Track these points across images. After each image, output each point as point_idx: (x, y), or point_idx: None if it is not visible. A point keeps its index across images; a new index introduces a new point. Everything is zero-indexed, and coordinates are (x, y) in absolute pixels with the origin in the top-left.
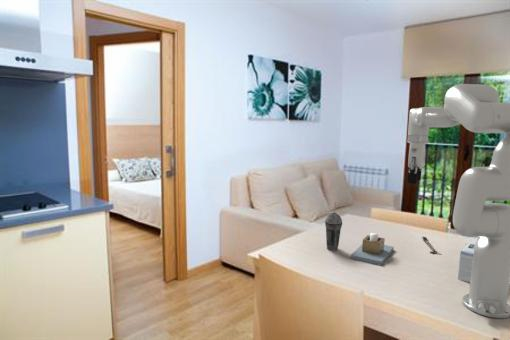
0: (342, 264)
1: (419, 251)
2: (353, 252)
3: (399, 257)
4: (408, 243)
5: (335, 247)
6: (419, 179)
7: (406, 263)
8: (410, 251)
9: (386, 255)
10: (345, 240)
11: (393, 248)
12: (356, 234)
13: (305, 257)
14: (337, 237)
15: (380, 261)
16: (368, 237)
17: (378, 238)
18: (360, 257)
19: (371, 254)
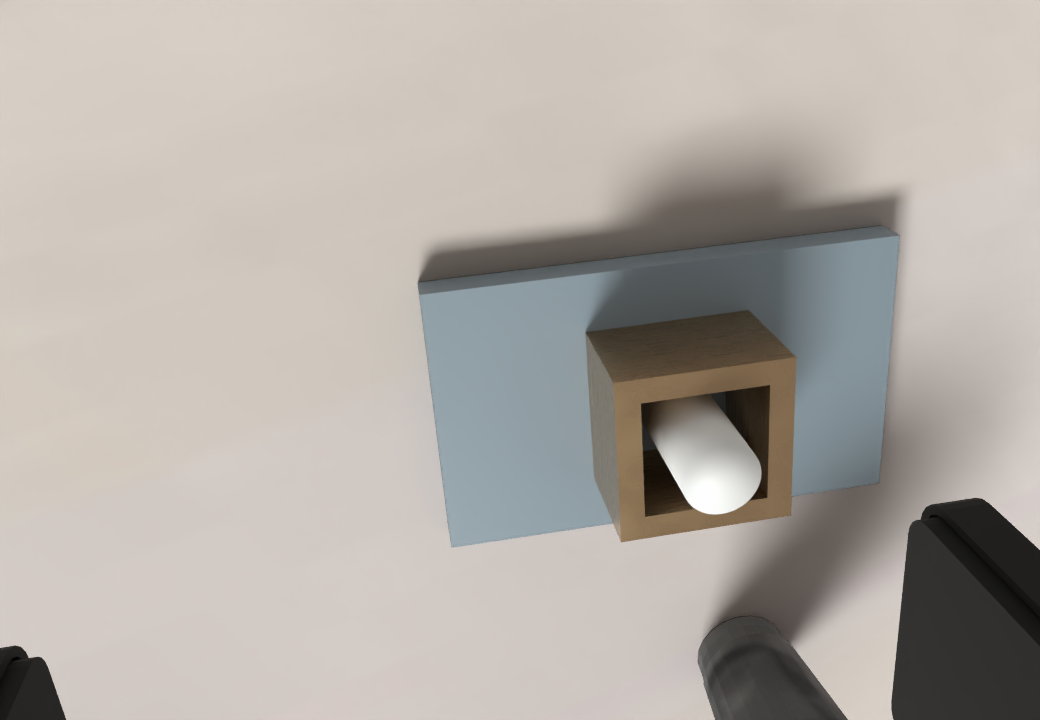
0: (1013, 454)
1: (249, 53)
2: (814, 491)
3: (586, 167)
4: (63, 233)
5: (778, 636)
6: (40, 685)
7: (706, 62)
8: (326, 134)
9: (722, 258)
10: (467, 682)
11: (423, 288)
12: (219, 700)
13: None
14: (812, 690)
15: (898, 245)
16: (672, 509)
17: (639, 429)
18: (883, 406)
19: None
